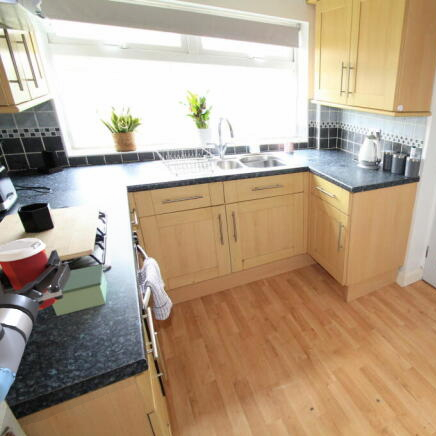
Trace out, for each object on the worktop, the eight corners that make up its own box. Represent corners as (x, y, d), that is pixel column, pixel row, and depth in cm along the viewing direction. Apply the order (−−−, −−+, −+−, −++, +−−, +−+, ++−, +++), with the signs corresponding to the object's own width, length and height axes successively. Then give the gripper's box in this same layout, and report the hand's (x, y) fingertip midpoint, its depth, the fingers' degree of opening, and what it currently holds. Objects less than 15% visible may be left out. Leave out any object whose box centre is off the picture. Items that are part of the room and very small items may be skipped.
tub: (54, 317, 86) (45, 295, 83) (61, 295, 95) (53, 274, 92) (107, 304, 92) (100, 282, 89) (108, 284, 101) (102, 263, 98)
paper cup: (72, 289, 73) (51, 235, 67) (51, 312, 66) (26, 253, 60) (33, 292, 72) (9, 237, 66) (8, 315, 65) (-21, 256, 59)
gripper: (-74, 366, 48) (-19, 285, 67) (82, 323, 57) (93, 263, 76) (-99, 328, 45) (-35, 254, 64) (70, 290, 54) (84, 235, 73)
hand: (35, 259), depth 70 cm, fingers closed on paper cup, 6 cm apart
